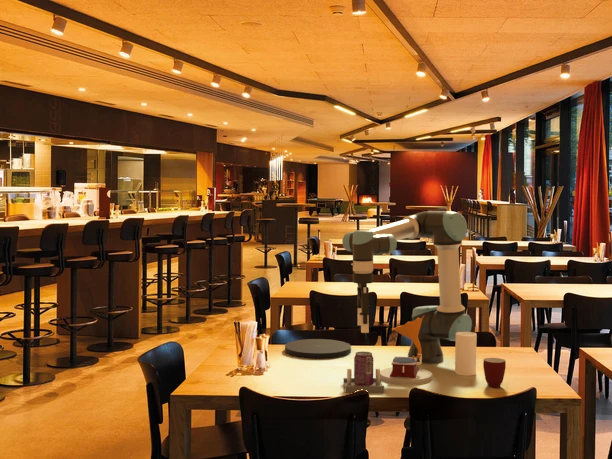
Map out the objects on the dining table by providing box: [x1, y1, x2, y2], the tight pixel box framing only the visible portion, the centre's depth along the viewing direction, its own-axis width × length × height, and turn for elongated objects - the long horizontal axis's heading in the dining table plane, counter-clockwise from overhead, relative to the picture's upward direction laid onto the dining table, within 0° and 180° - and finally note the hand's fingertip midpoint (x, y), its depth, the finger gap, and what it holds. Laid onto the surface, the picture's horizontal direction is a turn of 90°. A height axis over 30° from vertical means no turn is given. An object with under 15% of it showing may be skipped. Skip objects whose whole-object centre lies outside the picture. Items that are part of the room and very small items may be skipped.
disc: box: [284, 338, 352, 360], centre depth 346 cm, size 30×30×3 cm
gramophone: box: [380, 316, 433, 386], centre depth 298 cm, size 20×20×25 cm
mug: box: [482, 357, 507, 389], centre depth 287 cm, size 10×8×10 cm
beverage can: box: [353, 351, 374, 386], centre depth 283 cm, size 7×7×12 cm
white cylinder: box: [454, 331, 478, 377], centre depth 306 cm, size 8×8×16 cm
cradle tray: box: [343, 368, 385, 394], centre depth 283 cm, size 14×12×7 cm
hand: (362, 328), depth 284 cm, fingers open, 13 cm apart
